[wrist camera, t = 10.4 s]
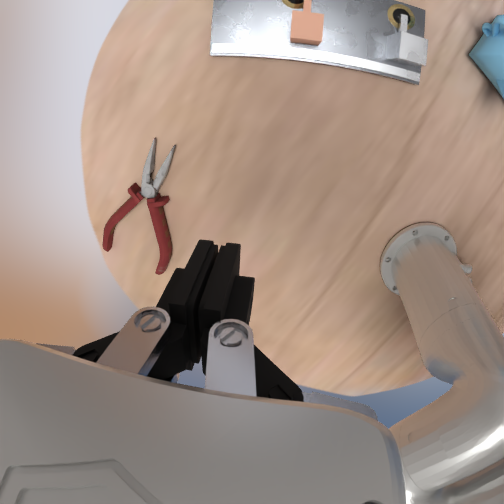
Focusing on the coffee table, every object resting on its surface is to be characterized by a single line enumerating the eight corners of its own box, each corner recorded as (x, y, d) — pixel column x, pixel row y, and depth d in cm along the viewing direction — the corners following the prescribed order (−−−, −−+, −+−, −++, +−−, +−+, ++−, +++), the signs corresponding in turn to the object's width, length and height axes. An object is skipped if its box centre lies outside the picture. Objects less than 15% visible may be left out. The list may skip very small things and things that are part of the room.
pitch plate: (420, 12, 24) (442, 3, 19) (414, 84, 29) (435, 87, 24) (218, -18, 26) (204, -33, 20) (212, 56, 31) (198, 52, 26)
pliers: (208, 155, 38) (202, 160, 36) (167, 270, 49) (162, 280, 47) (131, 125, 37) (121, 129, 35) (106, 242, 47) (98, 251, 45)
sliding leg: (321, -3, 24) (325, -13, 21) (318, 45, 28) (321, 41, 24) (293, -6, 24) (294, -17, 21) (290, 42, 28) (290, 37, 24)
